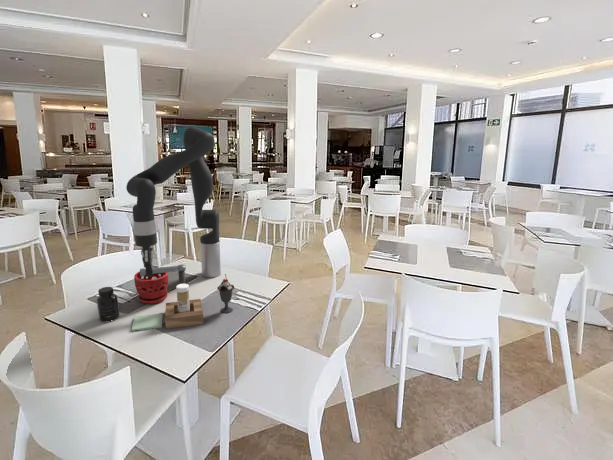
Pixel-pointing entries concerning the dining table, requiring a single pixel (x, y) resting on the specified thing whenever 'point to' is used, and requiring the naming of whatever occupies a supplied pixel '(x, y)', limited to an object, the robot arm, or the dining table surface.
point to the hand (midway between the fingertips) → (149, 275)
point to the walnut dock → (183, 319)
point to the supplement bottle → (107, 304)
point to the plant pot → (151, 287)
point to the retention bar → (164, 269)
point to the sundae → (226, 294)
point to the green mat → (147, 321)
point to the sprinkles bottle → (183, 298)
